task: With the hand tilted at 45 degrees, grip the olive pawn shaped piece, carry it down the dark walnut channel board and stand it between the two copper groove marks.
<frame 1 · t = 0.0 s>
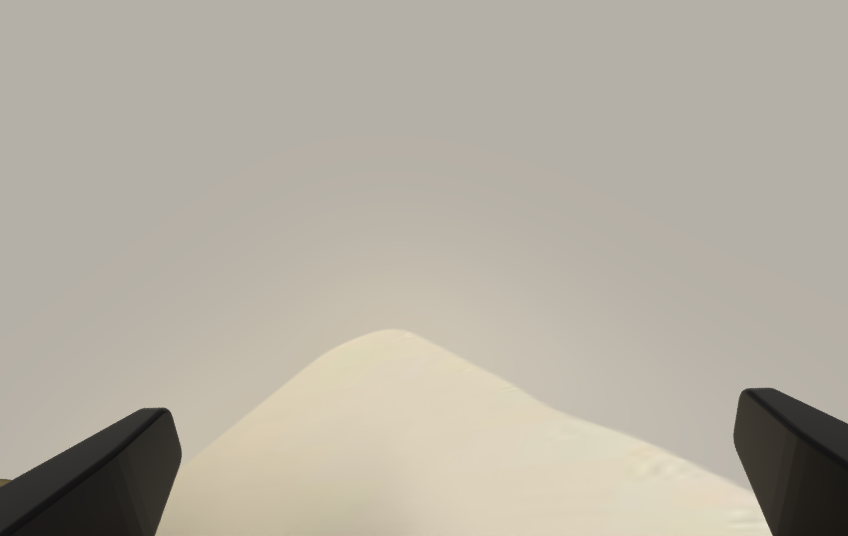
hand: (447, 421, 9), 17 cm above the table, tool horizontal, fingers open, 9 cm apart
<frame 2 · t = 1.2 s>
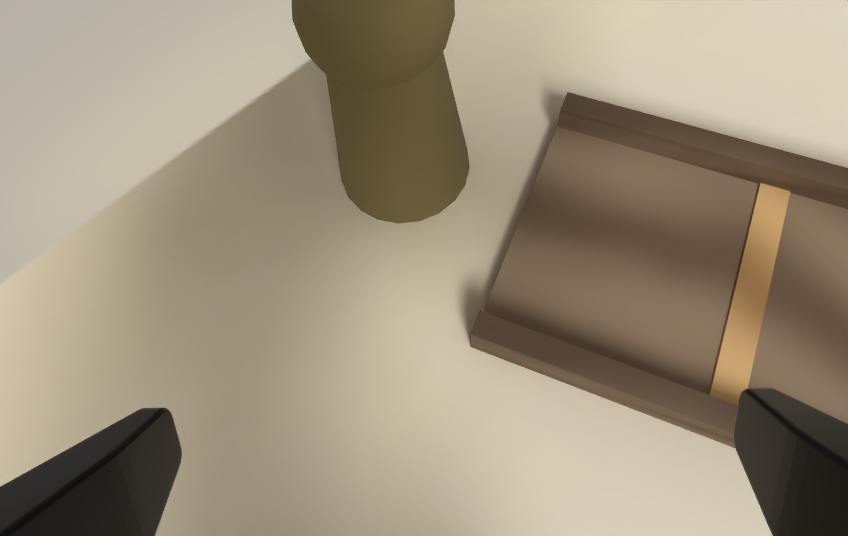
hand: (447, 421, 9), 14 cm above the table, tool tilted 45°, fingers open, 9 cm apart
olive pawn shaped piece: (405, 167, 27), on the table
channel board: (770, 305, 23), on the table
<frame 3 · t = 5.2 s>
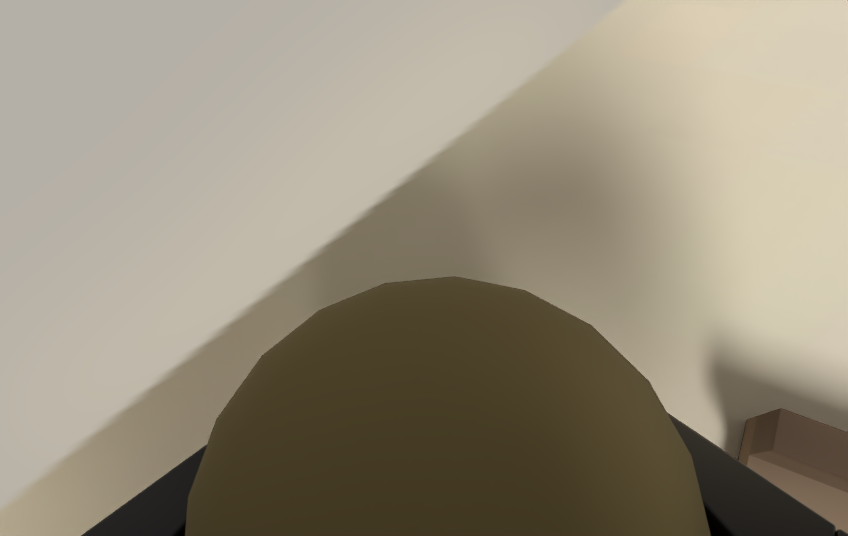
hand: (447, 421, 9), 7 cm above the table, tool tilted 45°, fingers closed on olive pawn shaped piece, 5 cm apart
olive pawn shaped piece: (460, 514, 15), on the table, touching gripper
when the fingers open (8 cm above the table, at t = 9.7 s): olive pawn shaped piece drops 1 cm, resting on channel board.
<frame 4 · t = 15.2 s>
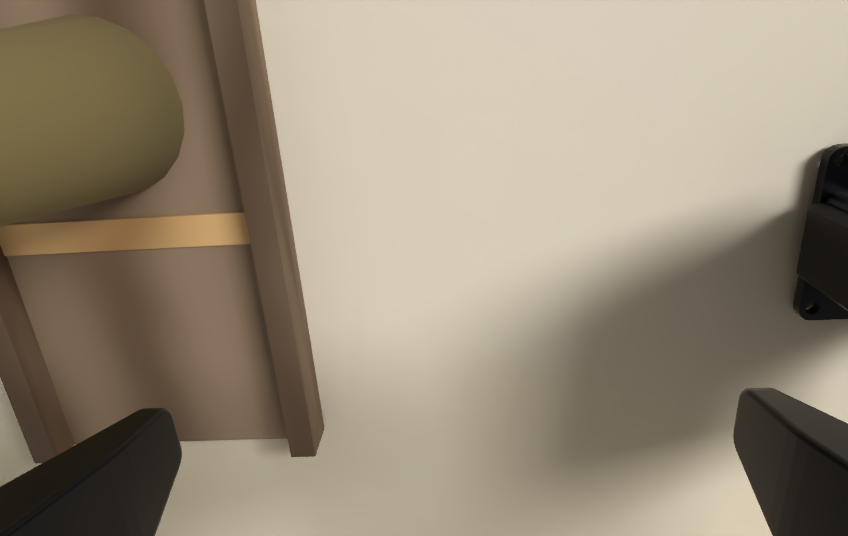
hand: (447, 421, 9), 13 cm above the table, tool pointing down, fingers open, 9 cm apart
olive pawn shaped piece: (100, 109, 20), resting on channel board
channel board: (129, 203, 22), on the table
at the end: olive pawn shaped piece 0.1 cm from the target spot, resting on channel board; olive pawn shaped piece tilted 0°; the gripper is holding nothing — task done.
